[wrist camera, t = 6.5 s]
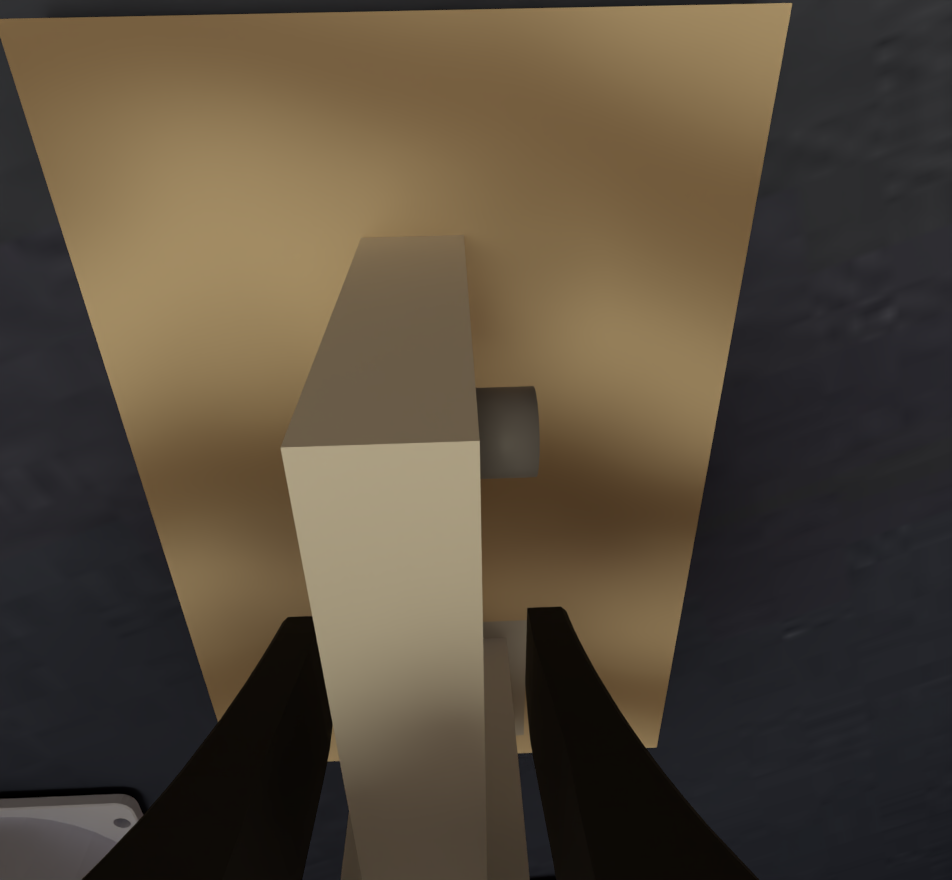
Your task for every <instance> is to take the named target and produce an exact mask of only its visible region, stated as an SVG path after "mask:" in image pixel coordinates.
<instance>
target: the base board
mask: <svg viewBox="0 0 952 880" xmlns="http://www.w3.org/2000/svg"><path fill="white" fill-rule="evenodd" d="M791 7H792V3H773V4H724V5H674V6H624V7H575V8H525V9H475V10H425V11H376V12H326V13H276V14H226V15H177V16H127V17H77V18H28V19H0V37H1V41H2V44H3V47H4V50H5V53H6V56H7V60H8V63H9V66H10V69H11V72H12V75H13V78H14V82H15V85H16V88H17V91H18V94H19V97H20V100H21V104H22V107H23V110H24V113H25V116H26V119H27V122H28V126H29V129H30V132H31V135H32V138H33V141H34V144H35V148H36V151H37V154H38V157H39V160H40V163H41V166H42V170H43V173H44V176H45V179H46V182H47V185H48V189H49V192H50V195H51V198H52V201H53V204H54V207H55V211H56V214H57V217H58V220H59V223H60V226H61V229H62V233H63V236H64V239H65V242H66V245H67V248H68V251H69V255H70V258H71V261H72V264H73V267H74V270H75V273H76V277H77V280H78V283H79V286H80V289H81V292H82V295H83V299H84V302H85V305H86V308H87V311H88V314H89V318H90V321H91V324H92V327H93V330H94V333H95V336H96V340H97V343H98V346H99V349H100V352H101V355H102V358H103V362H104V365H105V368H106V371H107V374H108V377H109V380H110V384H111V387H112V390H113V393H114V396H115V399H116V402H117V406H118V409H119V412H120V415H121V418H122V421H123V425H124V428H125V431H126V434H127V437H128V440H129V443H130V447H131V450H132V453H133V456H134V459H135V462H136V465H137V469H138V472H139V475H140V478H141V481H142V484H143V487H144V491H145V494H146V497H147V500H148V503H149V506H150V509H151V513H152V516H153V519H154V522H155V525H156V528H157V531H158V535H159V538H160V541H161V544H162V547H163V550H164V554H165V557H166V560H167V563H168V566H169V569H170V572H171V576H172V579H173V582H174V585H175V588H176V591H177V594H178V598H179V601H180V604H181V607H182V610H183V613H184V616H185V620H186V623H187V626H188V629H189V632H190V635H191V638H192V642H193V645H194V648H195V651H196V654H197V657H198V660H199V664H200V667H201V670H202V673H203V676H204V679H205V683H206V686H207V689H208V692H209V695H210V698H211V701H212V705H213V708H214V711H215V714H216V717H217V720H218V722H219V720H220V719H221V718H222V716H223V715H224V713H225V712H226V710H227V709H228V707H229V706H230V704H231V703H232V702H233V700H234V699H235V697H236V696H237V694H238V693H239V691H240V690H241V688H242V687H243V686H244V684H245V683H246V681H247V680H248V678H249V676H250V675H251V673H252V672H253V670H254V669H255V667H256V666H257V664H258V662H259V661H260V659H261V658H262V656H263V654H264V653H265V651H266V649H267V648H268V646H269V644H270V643H271V641H272V639H273V638H274V636H275V634H276V633H277V631H278V629H279V627H280V626H281V624H282V622H283V621H284V620H285V619H286V618H287V617H298V616H312V612H311V607H310V601H309V596H308V591H307V586H306V580H305V575H304V570H303V564H302V559H301V554H300V549H299V543H298V538H297V533H296V527H295V522H294V517H293V511H292V506H291V501H290V496H289V490H288V485H287V480H286V474H285V469H284V464H283V459H282V453H281V448H280V447H281V445H282V442H283V440H284V437H285V434H286V432H287V429H288V427H289V424H290V421H291V419H292V416H293V414H294V411H295V408H296V406H297V403H298V401H299V398H300V395H301V393H302V390H303V388H304V385H305V382H306V380H307V377H308V375H309V372H310V369H311V367H312V364H313V362H314V359H315V356H316V354H317V351H318V349H319V346H320V343H321V341H322V338H323V336H324V333H325V330H326V328H327V325H328V323H329V320H330V317H331V315H332V312H333V310H334V307H335V304H336V302H337V299H338V297H339V294H340V291H341V289H342V286H343V284H344V281H345V278H346V276H347V273H348V271H349V268H350V265H351V263H352V260H353V258H354V255H355V252H356V250H357V247H358V245H359V242H360V239H361V238H369V237H406V236H443V235H464V244H465V257H466V270H467V283H468V296H469V309H470V322H471V335H472V348H473V361H474V374H475V387H476V388H487V387H519V386H534V388H535V391H536V396H537V403H538V413H539V432H540V457H539V470H538V475H537V477H528V478H499V479H480V489H481V547H482V605H483V639H487V638H507V648H508V659H509V669H510V680H511V690H512V701H513V711H514V722H515V732H516V742H517V753H532V748H531V743H530V734H529V724H528V713H527V701H526V690H525V669H526V633H527V608H534V607H560V606H561V607H562V608H563V609H565V610H566V611H567V614H568V616H569V619H570V621H571V623H572V625H573V628H574V630H575V632H576V634H577V636H578V638H579V640H580V642H581V644H582V646H583V648H584V650H585V652H586V654H587V656H588V657H589V659H590V661H591V663H592V665H593V667H594V668H595V670H596V672H597V674H598V675H599V677H600V679H601V680H602V682H603V684H604V685H605V687H606V689H607V690H608V692H609V693H610V695H611V697H612V698H613V700H614V701H615V703H616V705H617V706H618V708H619V710H620V711H621V713H622V714H623V716H624V717H625V719H626V720H627V722H628V723H629V725H630V726H631V728H632V729H633V730H634V732H635V733H636V735H637V736H638V738H639V739H640V740H641V742H642V743H643V745H644V746H645V748H654V747H657V742H658V737H659V731H660V726H661V720H662V715H663V709H664V704H665V698H666V693H667V687H668V682H669V676H670V671H671V665H672V660H673V655H674V649H675V644H676V638H677V633H678V627H679V622H680V616H681V611H682V605H683V600H684V594H685V589H686V583H687V578H688V572H689V567H690V561H691V556H692V550H693V545H694V539H695V534H696V528H697V523H698V517H699V512H700V506H701V501H702V495H703V490H704V484H705V479H706V474H707V468H708V463H709V457H710V452H711V446H712V441H713V435H714V430H715V424H716V419H717V413H718V408H719V402H720V397H721V391H722V386H723V380H724V375H725V369H726V364H727V358H728V353H729V347H730V342H731V336H732V331H733V325H734V320H735V314H736V309H737V303H738V298H739V293H740V287H741V282H742V276H743V271H744V265H745V260H746V254H747V249H748V243H749V238H750V232H751V227H752V221H753V216H754V210H755V205H756V199H757V194H758V188H759V183H760V177H761V172H762V166H763V161H764V155H765V150H766V144H767V139H768V133H769V128H770V122H771V117H772V112H773V106H774V101H775V95H776V90H777V84H778V79H779V73H780V68H781V62H782V57H783V51H784V46H785V40H786V35H787V29H788V24H789V18H790V13H791ZM328 761H340V760H339V755H338V750H337V744H336V739H335V734H334V728H333V726H332V735H331V744H330V751H329V756H328Z"/></svg>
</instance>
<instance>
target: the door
mask: <svg viewBox="0 0 952 880" xmlns="http://www.w3.org/2000/svg"><path fill="white" fill-rule="evenodd" d="M280 448H281V453H282V459H283V464H284V469H285V474H286V480H287V485H288V490H289V496H290V501H291V506H292V511H293V517H294V522H295V527H296V533H297V538H298V543H299V549H300V554H301V559H302V564H303V570H304V575H305V580H306V586H307V591H308V596H309V601H310V607H311V612H312V617H313V623H314V628H315V633H316V638H317V644H318V649H319V654H320V660H321V665H322V670H323V675H324V681H325V686H326V691H327V697H328V702H329V707H330V713H331V718H332V723H333V728H334V734H335V739H336V744H337V750H338V755H339V760H340V765H341V771H342V776H343V781H344V787H345V792H346V797H347V802H348V808H349V816H348V824H347V832H346V841H345V849H344V857H343V865H342V873H341V880H530V878H529V868H528V857H527V847H526V837H525V826H524V816H523V805H522V795H521V784H520V774H519V763H518V753H517V742H516V732H515V722H514V711H513V701H512V690H511V680H510V669H509V659H508V648H507V638H487V639H483V605H482V547H481V489H480V479H499V478H528V477H537V475H538V470H539V457H540V432H539V413H538V403H537V396H536V391H535V388H534V386H519V387H487V388H476V387H475V374H474V361H473V348H472V335H471V322H470V309H469V296H468V283H467V270H466V257H465V244H464V235H443V236H406V237H369V238H361V239H360V242H359V245H358V247H357V250H356V252H355V255H354V258H353V260H352V263H351V265H350V268H349V271H348V273H347V276H346V278H345V281H344V284H343V286H342V289H341V291H340V294H339V297H338V299H337V302H336V304H335V307H334V310H333V312H332V315H331V317H330V320H329V323H328V325H327V328H326V330H325V333H324V336H323V338H322V341H321V343H320V346H319V349H318V351H317V354H316V356H315V359H314V362H313V364H312V367H311V369H310V372H309V375H308V377H307V380H306V382H305V385H304V388H303V390H302V393H301V395H300V398H299V401H298V403H297V406H296V408H295V411H294V414H293V416H292V419H291V421H290V424H289V427H288V429H287V432H286V434H285V437H284V440H283V442H282V445H281V447H280Z"/></svg>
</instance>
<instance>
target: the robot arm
mask: <svg viewBox="0 0 952 880" xmlns="http://www.w3.org/2000/svg"><path fill="white" fill-rule="evenodd" d="M525 690H526V701H527V713H528V724H529V734H530V743H531V748H532V753H533V759H534V764H535V769H536V774H537V780H538V785H539V790H540V795H541V801H542V806H543V811H544V816H545V821H546V826H547V832H548V837H549V842H550V847H551V852H552V858H553V863H554V869H555V875H556V880H759V879H758V878H757V877H756V876H755V875H754V874H753V873H752V872H751V871H750V869H749V868H748V867H747V866H746V865H745V864H744V863H743V862H742V861H741V860H740V859H739V858H738V857H737V856H736V855H735V854H734V853H733V852H732V850H731V849H730V848H729V847H728V846H727V845H726V844H725V843H724V842H723V841H722V840H721V839H720V838H719V837H718V836H717V835H716V834H715V832H714V831H713V830H712V829H711V828H710V827H709V826H708V825H707V824H706V822H705V821H704V820H703V819H702V818H701V817H700V815H699V814H698V813H697V812H696V811H695V810H694V808H693V807H692V806H691V805H690V804H689V803H688V801H687V800H686V799H685V798H684V797H683V795H682V794H681V793H680V792H679V790H678V789H677V788H676V787H675V786H674V784H673V783H672V782H671V781H670V779H669V778H668V777H667V776H666V774H665V773H664V772H663V770H662V769H661V768H660V766H659V765H658V764H657V763H656V761H655V760H654V758H653V757H652V756H651V754H650V753H649V752H648V750H647V749H646V748H645V746H644V745H643V743H642V742H641V740H640V739H639V738H638V736H637V735H636V733H635V732H634V730H633V729H632V728H631V726H630V725H629V723H628V722H627V720H626V719H625V717H624V716H623V714H622V713H621V711H620V710H619V708H618V706H617V705H616V703H615V701H614V700H613V698H612V697H611V695H610V693H609V692H608V690H607V689H606V687H605V685H604V684H603V682H602V680H601V679H600V677H599V675H598V674H597V672H596V670H595V668H594V667H593V665H592V663H591V661H590V659H589V657H588V656H587V654H586V652H585V650H584V648H583V646H582V644H581V642H580V640H579V638H578V636H577V634H576V632H575V630H574V628H573V625H572V623H571V621H570V619H569V616H568V614H567V611H566V610H565V609H563V608H562V607H561V606H560V607H534V608H527V633H526V669H525ZM332 726H333V723H332V718H331V713H330V707H329V702H328V697H327V691H326V686H325V681H324V675H323V670H322V665H321V660H320V654H319V649H318V644H317V638H316V633H315V628H314V623H313V617H312V616H298V617H287V618H286V619H285V620H284V621H283V622H282V624H281V626H280V627H279V629H278V631H277V633H276V634H275V636H274V638H273V639H272V641H271V643H270V644H269V646H268V648H267V649H266V651H265V653H264V654H263V656H262V658H261V659H260V661H259V662H258V664H257V666H256V667H255V669H254V670H253V672H252V673H251V675H250V676H249V678H248V680H247V681H246V683H245V684H244V686H243V687H242V688H241V690H240V691H239V693H238V694H237V696H236V697H235V699H234V700H233V702H232V703H231V704H230V706H229V707H228V709H227V710H226V712H225V713H224V715H223V716H222V718H221V719H220V720H219V722H218V723H217V724H216V726H215V727H214V729H213V730H212V731H211V732H210V734H209V735H208V736H207V738H206V739H205V740H204V742H203V743H202V744H201V746H200V747H199V748H198V750H197V751H196V752H195V754H194V755H193V756H192V757H191V759H190V760H189V761H188V763H187V764H186V765H185V766H184V768H183V769H182V770H181V771H180V773H179V774H178V775H177V776H176V778H175V779H174V780H173V781H172V782H171V784H170V785H169V786H168V787H167V788H166V790H165V791H164V792H163V793H162V794H161V796H160V797H159V798H158V799H157V800H156V801H155V802H154V803H153V805H152V806H151V807H150V808H149V809H148V810H147V811H146V813H145V814H144V815H143V813H142V811H141V809H140V807H139V804H138V802H137V801H136V800H135V798H133V797H131V796H130V795H126V794H98V795H75V796H52V797H29V798H6V799H0V880H302V877H303V873H304V868H305V863H306V859H307V854H308V849H309V845H310V840H311V836H312V831H313V826H314V822H315V817H316V812H317V808H318V803H319V799H320V794H321V789H322V785H323V780H324V775H325V770H326V766H327V761H328V756H329V751H330V744H331V735H332Z"/></svg>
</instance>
